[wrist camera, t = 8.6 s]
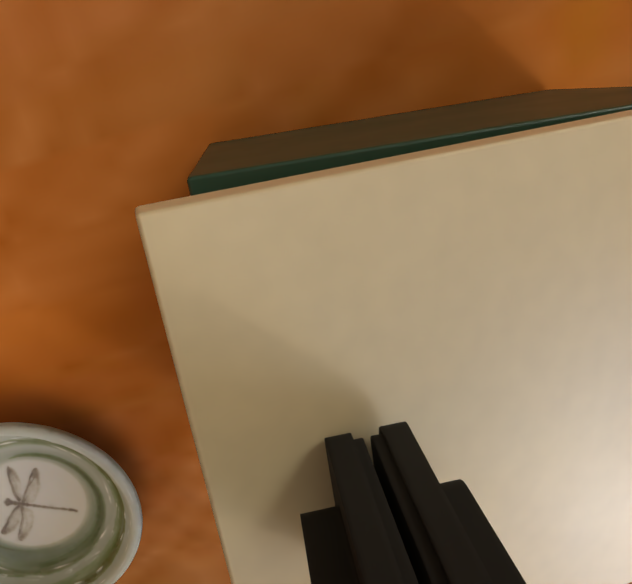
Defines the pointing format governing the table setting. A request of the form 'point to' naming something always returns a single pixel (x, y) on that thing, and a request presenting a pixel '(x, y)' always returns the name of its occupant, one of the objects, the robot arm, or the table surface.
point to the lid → (415, 339)
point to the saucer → (63, 509)
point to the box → (394, 135)
